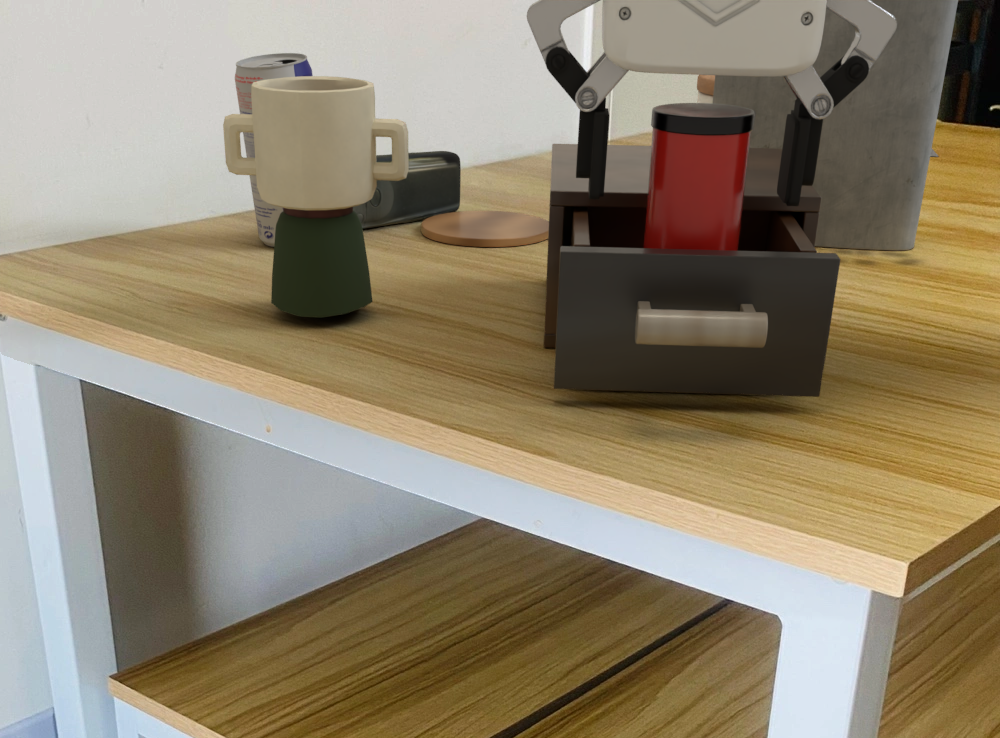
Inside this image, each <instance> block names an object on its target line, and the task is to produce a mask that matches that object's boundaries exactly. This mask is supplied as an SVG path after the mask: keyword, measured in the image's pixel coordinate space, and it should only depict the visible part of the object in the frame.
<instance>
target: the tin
mask: <svg viewBox="0 0 1000 738" xmlns="http://www.w3.org/2000/svg"><path fill="white" fill-rule="evenodd" d="M754 122H755V111H754V110H751V109H749V108H745V107H740V106H734V105H725V104H713V103H697V102H677V103H676V102H675V103H665V104H660V105H656V106H654V107H652V109H651V122H650V123H651V124H650V126H651V128H652V133H651V135H652V136H651V145H650V146H651V158H650V170H649V183H648V196H647V209H646V221H645V234H644V247H643V248H652V249H691V250H730V251H738V245H739V236H740V227H741V218H742V209H743V201H744V192H745V183H746V174H747V165H748V157H749V148H750V139H751V131H752V130H753V129H754Z"/></svg>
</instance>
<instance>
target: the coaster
mask: <svg viewBox="0 0 1000 738" xmlns="http://www.w3.org/2000/svg"><path fill="white" fill-rule="evenodd" d="M420 223H421V224H420V232H421V234H422V236H424V237H425V238H427V239H429V240H432V241H435V242H439V243H442V244H447V245H454V246H462V247H474V248H506V247H508V248H509V247H519V246H527V245H532V244H533V245H534V244H536V243H541V242H543V241H545V240H548V232H549V220H547V219H546V218H543V217H540V216H536V215H532V214H527V213H522V212H515V211H504V210H462V211H461V210H460V211H456V212H451V213H444V214H439V215H435V216H432V217H429V218H427V219H423V220H422V221H421V222H420Z"/></svg>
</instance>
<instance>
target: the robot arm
mask: <svg viewBox="0 0 1000 738" xmlns="http://www.w3.org/2000/svg"><path fill="white" fill-rule="evenodd" d="M600 1H601V0H537V1H534V2H532V4H531V5H530V6H529V7H528V9H527V12H526V20H527V23H528V26H529V29H530V30H531V33H532V35H533V37H534V40H535V42H536V45H537V47H538V50H539V52H540V54H541V56H542V59H543V62H544V64H545V67H546V69H547V71H548V72H549V74H550V75H551V76H552V78H554V80H555V81H556V82H557V83H558V84H559V85H560V87H561V88H562V90H563V91H564V92H565V93H566V94H567V95H568V96H569V97H570V99H571V100H572V101H573V102H574V103H575V105H576V107H577V108H578V110H579V117H578V130H577V131H578V132H577V144H578V147H577V163H576V178H589V186H588V191H589V199H599V198H600V197H604V185H605V172H606V158H607V145H609V144H608V143H609V130H610V129H609V127H610V111H609V108H608V107H607V106H606V105H607V103H606V102H607V96H609V94H610V93H611V92H612V91H613V89H614V88H615V87H616V86H617V85H618V84H619V83H620V81H621V80H622V79H623V78H624V77H625V76H626V74H627V73H628V72H629V71H630V72H636V73H645V74H663V75H664V74H665V75H666V74H667V75H690V76H691V75H692V76H694V75H695V76H699V75H723V76H768V77H774V76H783V78H784V79H785V81H786V83H787V84H788V86H789V87H790V89H791V90H792V92H793V94H794V95H795V97H796V98H797V99H796V100H795V105H794V110H791V114H787V118H786V125H785V133H784V140H783V148H782V155H781V162H780V170H779V177H778V185H777V194H778V196H779V197H780V199H781V200H782V201H783V203H786V205H787V206H798V205H799V202H800V195H801V188H802V186H812V185H813V182H814V178H815V171H816V165H817V158H818V151H819V144H820V138H821V131H822V124H823V119H824V118H826V117H828V116H829V115H830V114H831V112H832V110H833V108H834V107H835V106H836V105H837V104H838V103H840V102H841V101H842V100H843V99H844V98H845V97H846V96H847V95H848V94H850V93H851V92H852V91H853V90H854V89H855V88H856V87H857V86H858V85H860V84H861V83H862V82H863V81H864V80H865V79H866V77H867V75H868V73H869V70H870V68H871V67H872V65H873V64H874V62H876V60H877V59H878V57H879V55H880V54H881V52H882V51H883V49H884V48H885V46H886V45H887V43H888V42H889V40H890V38H891V37H892V35H893V34H894V32H895V30H896V28H897V21H896V18H895V17H894V16H893V15H891V14H890V13H888V12H887V11H885V10H884V9H882V8H881V7H879V6H878V5H876V4H875V3H873V2H872V1H870V0H602V7H601V8H602V9H601V11H602V12H601V13H602V14H601V40H602V41H601V43H602V49H603V52H602V54H601V55H600V56H599V57H598V58H597V59H596V61H595V62H594V63H593V64H592V65H591V66H590V68H589V69H587V70H585V68H584V66H582V65H581V63H580V62H579V61H578V59H576V57H575V56H574V55H573V53H571V51H570V49H569V48H568V45H567V43H566V41H565V38H564V35H563V33H562V29H561V27H562V24H563V22H564V21H565V20H567V19H568V18H571V17H573V16H574V15H576V14H578V13H579V12H581V11H584V10H585V9H587V8H588V7H591V6H593V5H595V4H596V3H599V2H600ZM826 8H827V9H828V10H830V11H831V12H833V13H834V14H836V15H838V16H839V17H841V18H842V19H844V20H845V21H847V22H848V23H850V24H851V25H852V26H853V27H854V29H855V38H854V40H853V42H852V44H851V45H850V48H849V49H848V51H847V53H846V54H845V56H843V57H842V58H841V59H840V60H839V61H838V62H837V63H836V64H834V65H833V66H832V67H831V68H830V69H829V70H828V71H827V72H826V73H825V74H823V75H822V76H821V77H819V76H818V74H817V72H816V71H815V69H814V67H813V66H812V65H813V64H814V62H815V61H816V59H817V56H818V54H819V50H820V46H821V41H822V36H823V29H824V22H825V13H826ZM606 107H607V108H606Z"/></svg>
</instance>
